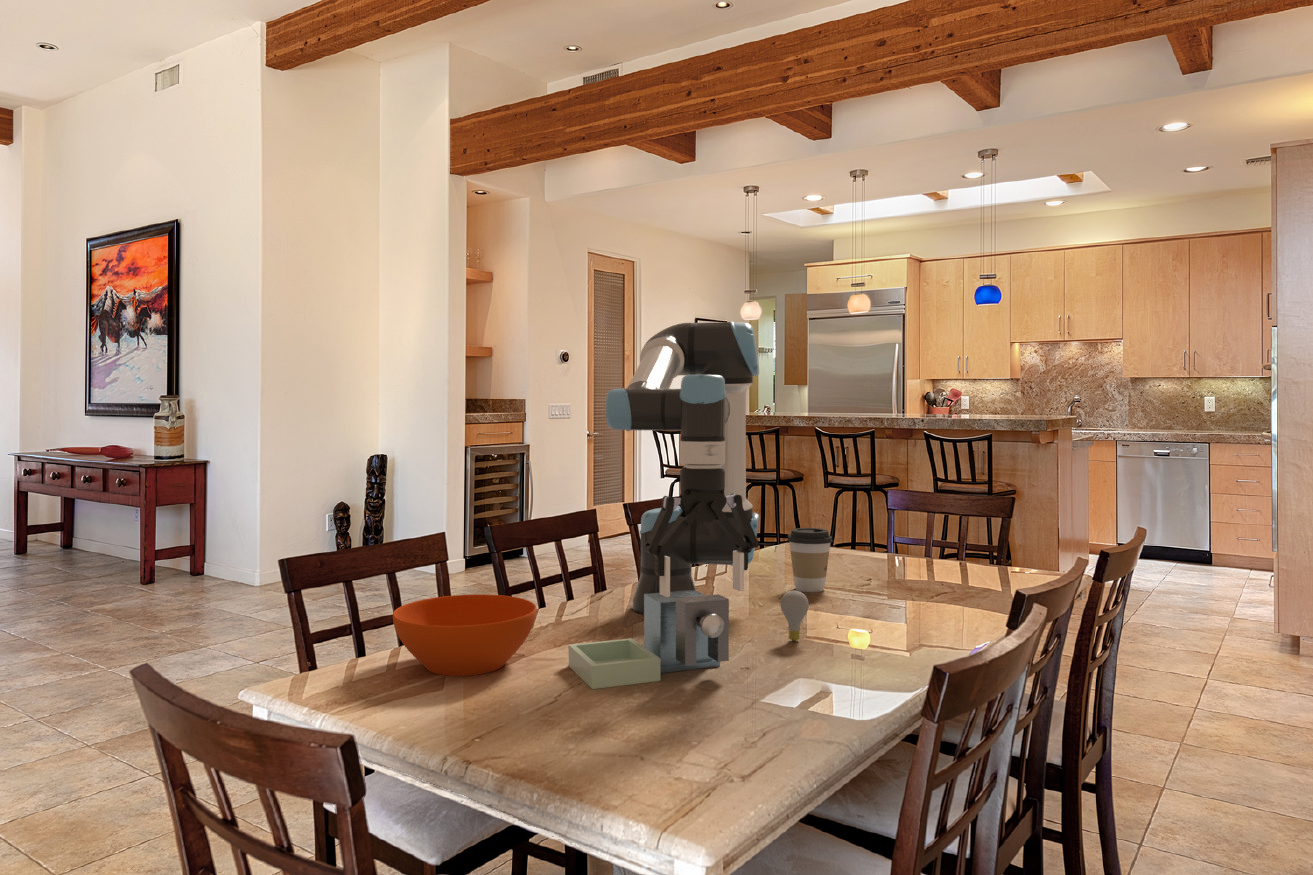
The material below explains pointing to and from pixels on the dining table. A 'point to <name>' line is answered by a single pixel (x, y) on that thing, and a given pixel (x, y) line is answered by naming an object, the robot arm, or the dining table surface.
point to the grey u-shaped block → (687, 627)
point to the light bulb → (794, 611)
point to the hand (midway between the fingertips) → (702, 592)
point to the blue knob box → (664, 631)
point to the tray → (614, 663)
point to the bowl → (464, 631)
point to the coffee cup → (809, 558)
